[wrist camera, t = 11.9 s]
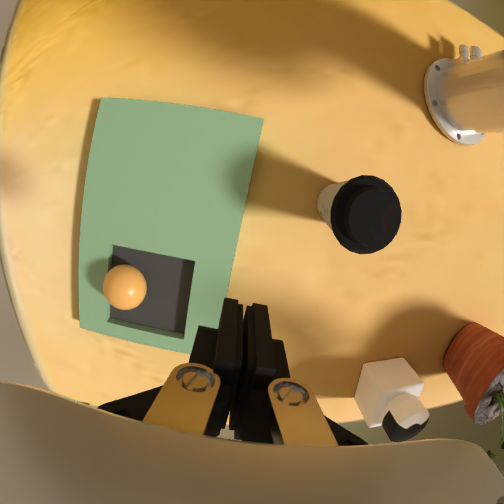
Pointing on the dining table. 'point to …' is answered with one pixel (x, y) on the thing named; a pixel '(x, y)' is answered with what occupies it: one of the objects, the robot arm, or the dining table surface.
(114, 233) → the mat
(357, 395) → the medicine bottle
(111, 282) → the orange ball
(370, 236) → the coffee cup
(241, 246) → the dining table surface
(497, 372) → the potted plant
